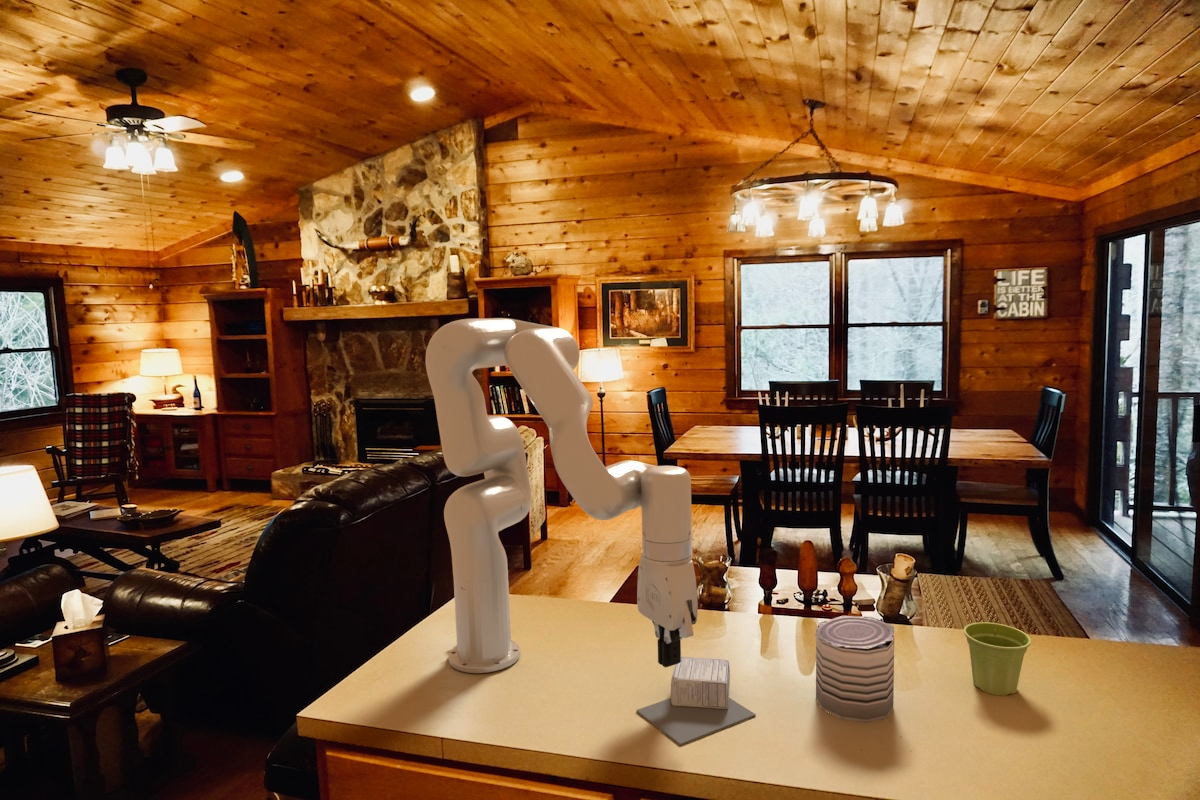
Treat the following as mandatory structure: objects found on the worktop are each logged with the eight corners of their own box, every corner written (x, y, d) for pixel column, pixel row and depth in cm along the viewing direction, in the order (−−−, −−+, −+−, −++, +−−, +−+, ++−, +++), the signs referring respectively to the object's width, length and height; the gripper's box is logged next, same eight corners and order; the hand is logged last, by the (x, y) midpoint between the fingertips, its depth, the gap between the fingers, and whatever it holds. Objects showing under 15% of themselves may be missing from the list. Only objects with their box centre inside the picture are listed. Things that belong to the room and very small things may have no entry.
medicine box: (670, 706, 116) (728, 711, 114) (670, 678, 116) (728, 682, 114) (676, 681, 124) (730, 685, 122) (675, 655, 123) (729, 659, 122)
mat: (636, 711, 115) (636, 710, 115) (708, 686, 123) (708, 684, 123) (680, 745, 106) (680, 743, 106) (755, 716, 113) (755, 714, 113)
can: (895, 728, 109) (897, 648, 108) (813, 716, 113) (813, 639, 111) (892, 690, 120) (893, 617, 118) (817, 681, 123) (817, 610, 122)
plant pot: (1026, 678, 122) (1028, 627, 121) (1032, 706, 114) (1033, 651, 113) (962, 669, 126) (963, 618, 125) (962, 695, 118) (963, 641, 117)
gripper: (619, 540, 120) (622, 652, 122) (677, 566, 107) (679, 689, 109) (658, 532, 124) (660, 640, 126) (718, 556, 111) (719, 675, 113)
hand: (669, 663), depth 117 cm, fingers closed
